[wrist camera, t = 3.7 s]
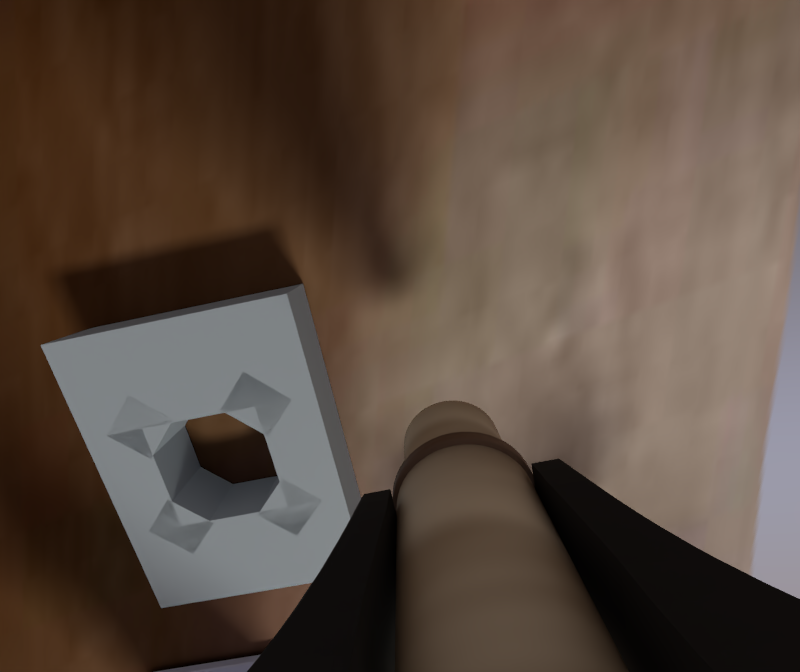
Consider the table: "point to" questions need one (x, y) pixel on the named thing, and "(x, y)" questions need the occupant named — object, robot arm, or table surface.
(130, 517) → the board
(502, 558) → the peg
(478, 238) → the table surface
